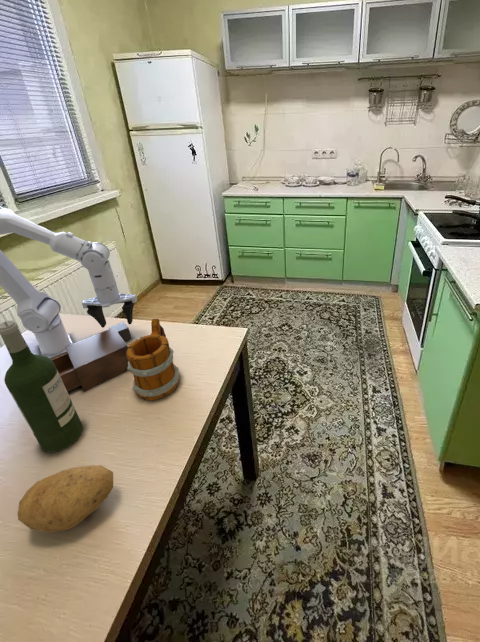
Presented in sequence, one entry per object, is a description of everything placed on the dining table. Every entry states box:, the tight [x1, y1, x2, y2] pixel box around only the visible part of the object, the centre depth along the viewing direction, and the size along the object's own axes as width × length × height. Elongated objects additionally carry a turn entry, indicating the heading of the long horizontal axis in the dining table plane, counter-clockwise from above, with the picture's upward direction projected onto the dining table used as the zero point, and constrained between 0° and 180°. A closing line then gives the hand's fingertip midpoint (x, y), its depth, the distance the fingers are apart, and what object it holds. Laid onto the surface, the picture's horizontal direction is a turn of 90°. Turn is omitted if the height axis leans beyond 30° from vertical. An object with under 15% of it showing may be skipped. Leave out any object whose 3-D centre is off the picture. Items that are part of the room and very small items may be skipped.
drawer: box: [50, 352, 82, 393], centre depth 82 cm, size 16×10×6 cm, turn 132°
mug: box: [126, 318, 180, 401], centre depth 83 cm, size 11×16×15 cm, turn 5°
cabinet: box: [65, 327, 129, 392], centre depth 88 cm, size 13×12×8 cm
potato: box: [17, 464, 114, 533], centre depth 56 cm, size 10×14×8 cm
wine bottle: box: [0, 320, 84, 453], centre depth 64 cm, size 8×8×30 cm
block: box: [108, 321, 133, 343], centre depth 101 cm, size 4×4×4 cm
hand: (117, 324), depth 99 cm, fingers open, 7 cm apart
